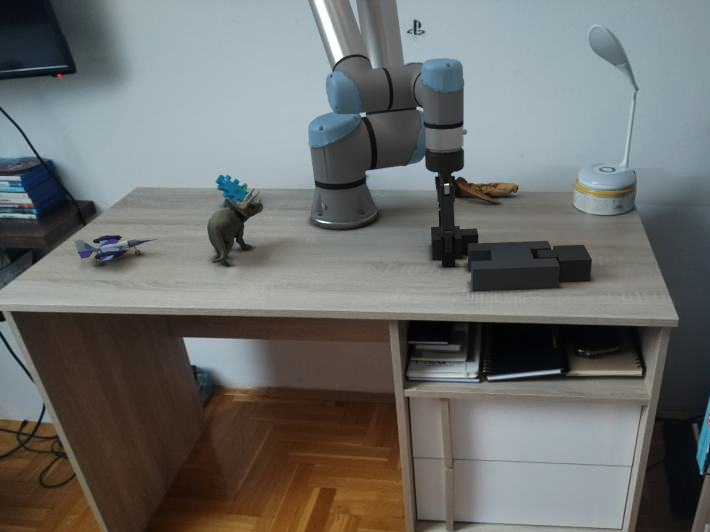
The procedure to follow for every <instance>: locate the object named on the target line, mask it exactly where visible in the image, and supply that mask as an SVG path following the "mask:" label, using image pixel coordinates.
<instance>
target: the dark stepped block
mask: <svg viewBox="0 0 710 532" xmlns="http://www.w3.org/2000/svg"><path fill="white" fill-rule="evenodd" d="M545 258H556V259H557V261H558V263H559V266H560V270H559V283H561V282H562V283H566V282H589V281H591V273H592V264H593V259H592V257H591V255H590V253H589V252H588V250H587V248H586V246H585V244H565V245H561V244H560V245H553V246H552V249H551V250H537V259H545Z"/></svg>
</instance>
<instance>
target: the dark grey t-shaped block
mask: <svg viewBox="0 0 710 532" xmlns="http://www.w3.org/2000/svg"><path fill="white" fill-rule="evenodd" d="M445 230H452V229H445ZM441 231H442V229H441V227H439V226H430V237H431V239H430V240H431V242H430V243H431V257H432V258H431V259H432V260H433V261H435V260H436V261H439V260H442V256H441V236H439V237H438V232H441ZM455 232H456V234H455V260H462V259H463V256H468V243H479V232H478V228H461V226H460V225H455Z"/></svg>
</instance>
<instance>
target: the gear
mask: <svg viewBox="0 0 710 532" xmlns="http://www.w3.org/2000/svg"><path fill="white" fill-rule="evenodd" d="M214 182H215V184H218V185H217V186H216V189H217V190H218V191H221V192H222V193H221V194H222V197H223V198H225V199H226V198H228V199H230V200H231V201H232V202H234V203H236V204H237V203H241V202H242V201H243V200H244V198H245V196H246V195H247V194H248V193H250V192H251V191H247V190H248V186H249V185H248V184H247V183H246V182H244V183H243V184H242V185H240V183H241V182H240V180H239V179H238V178H234V180H233V181H232V176H231V175H229V174H226V175H225V176H224V175H223V174H220V175H218V177H217V178H216V180H214ZM252 196H253V193H252V194H251V195H250V197H249V199H250V198H251V197H252ZM249 199H248V200H249ZM254 202H255V199H254V200H253V201H252V203H254ZM221 205H222V206H223V207H227V205H226V203H225V201H223V202H222V203H221Z"/></svg>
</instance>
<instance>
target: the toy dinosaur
mask: <svg viewBox="0 0 710 532" xmlns="http://www.w3.org/2000/svg"><path fill="white" fill-rule="evenodd" d="M255 189H256V188H253V189H251V190H250V191H249V192H250V193H248V194H247V195H246V196H245V198H244V200H243V201H242V202H241V203H240V202H238V203H237V202H236V203H234V202H232V201H231V200H230V199H228V198H224V197H223V198H224V201H225V203H226V207H227V208H223V209H220V210H216V211H215V212H214V213H213V214H212V216H211V217H210V218H209V219H208V223H207V226H206V229H207V236H208V240H209V242H210V244H211V246H212V247H213V249H214V250H215V252H216V255H214V257H213V258H214V259H213V260H211V264H221V265H223V266H226V267H230V266H231V263H230V262H229V261H228V260H227V259H228V255H229V254H230V252H231V251H232V249H233V247H234V245H235V242H236V243H237V244H238V246H239V247H240V249H241V250H243V251H248V250H250V248H252V244H249V243H246V242H245V240H244V233H245V232H244V231H245V227H246V226H245V223H246V222H247V221H248V220H250V219H251V218H252V217H255V216H256V215H258V214H261V213H262V211H263V210H264V204H263V203H262V202H261V198H258V199H257V200H256V201H255V199H256V198H257V197H258V196H259V194H260V189H259V190H258V191H257V192H256V193H255V194H254V195H253V193H254V191H255ZM251 194H252V197H251V198H250V199H249V197H250V195H251ZM248 199H249V200H248ZM253 200H254V202H253V203H252V201H253ZM224 201H223V202H224Z"/></svg>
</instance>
